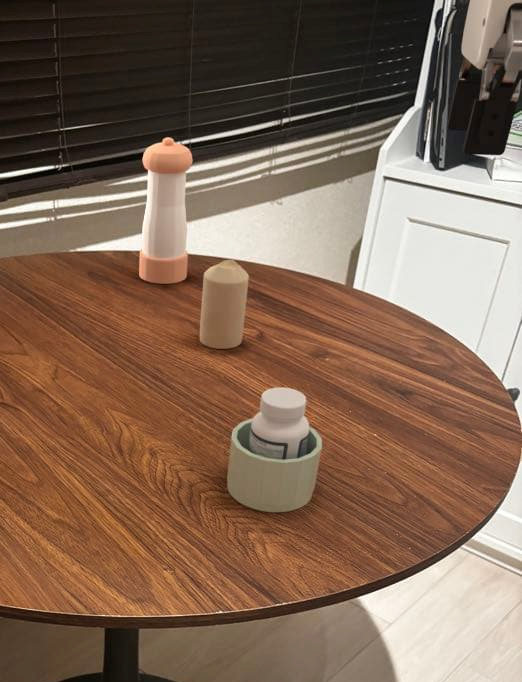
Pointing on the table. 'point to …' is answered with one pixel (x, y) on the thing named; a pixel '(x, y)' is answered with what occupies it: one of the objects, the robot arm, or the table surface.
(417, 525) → the table surface
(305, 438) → the pill bottle
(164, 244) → the pepper shaker
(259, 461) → the cup
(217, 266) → the candle
